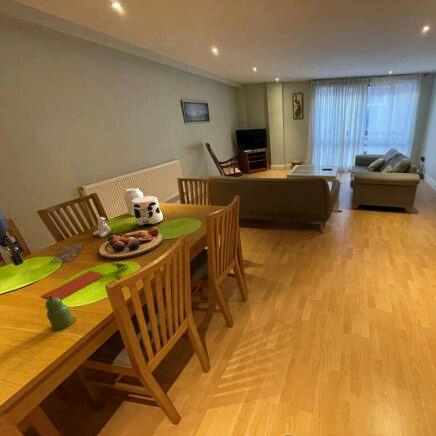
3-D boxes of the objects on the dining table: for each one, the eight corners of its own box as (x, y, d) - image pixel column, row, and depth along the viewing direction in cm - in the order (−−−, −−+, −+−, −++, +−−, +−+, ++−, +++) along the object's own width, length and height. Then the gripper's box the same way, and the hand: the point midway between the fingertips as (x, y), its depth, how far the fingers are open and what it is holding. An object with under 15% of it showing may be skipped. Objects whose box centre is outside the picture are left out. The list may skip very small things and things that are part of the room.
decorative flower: (124, 267, 108) (111, 256, 117) (115, 280, 107) (103, 268, 115) (140, 272, 114) (127, 261, 123) (132, 284, 113) (119, 273, 121)
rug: (49, 264, 124) (48, 262, 123) (63, 247, 140) (62, 246, 140) (73, 259, 128) (72, 258, 127) (84, 244, 144) (83, 242, 144)
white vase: (151, 211, 195) (145, 187, 188) (138, 216, 184) (131, 191, 176) (138, 209, 198) (132, 186, 191) (125, 215, 187) (118, 190, 180)
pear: (59, 331, 84) (44, 303, 79) (49, 327, 86) (34, 299, 81) (77, 320, 89) (64, 292, 84) (67, 316, 91) (54, 289, 86)
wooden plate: (159, 229, 163) (157, 218, 159) (166, 249, 138) (163, 236, 135) (101, 242, 146) (97, 229, 143) (97, 266, 122) (92, 252, 119)
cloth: (57, 301, 98) (56, 301, 98) (42, 296, 101) (41, 295, 101) (104, 275, 115) (103, 275, 115) (90, 271, 118) (89, 271, 118)
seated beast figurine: (92, 235, 155) (86, 218, 150) (106, 230, 162) (101, 213, 157) (102, 238, 151) (95, 220, 147) (115, 232, 158) (110, 215, 154)
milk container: (156, 216, 184) (150, 194, 178) (168, 221, 175) (163, 198, 168) (132, 224, 171) (125, 200, 164) (143, 230, 162) (137, 204, 155)
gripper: (-49, 221, 73) (-22, 267, 79) (-13, 225, 70) (12, 271, 76) (-15, 213, 79) (6, 255, 86) (18, 215, 77) (39, 259, 83)
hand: (9, 263), depth 81 cm, fingers open, 8 cm apart
